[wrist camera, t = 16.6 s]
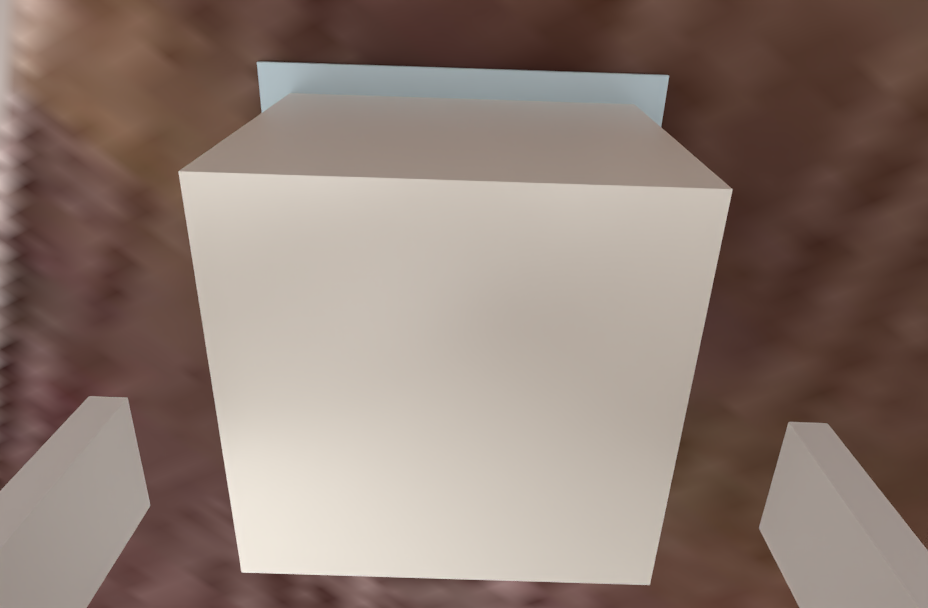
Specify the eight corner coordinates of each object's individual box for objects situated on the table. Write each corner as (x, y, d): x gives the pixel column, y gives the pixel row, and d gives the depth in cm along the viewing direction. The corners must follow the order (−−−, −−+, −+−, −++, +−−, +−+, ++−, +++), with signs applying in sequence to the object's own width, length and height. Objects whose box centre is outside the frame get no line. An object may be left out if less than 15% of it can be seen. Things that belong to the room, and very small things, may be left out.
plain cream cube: (594, 389, 25) (649, 585, 17) (314, 381, 25) (241, 572, 17) (632, 102, 21) (732, 189, 13) (291, 91, 20) (178, 171, 13)
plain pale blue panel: (615, 412, 25) (616, 415, 25) (291, 401, 25) (290, 405, 25) (667, 74, 20) (669, 75, 20) (258, 61, 20) (256, 62, 20)
